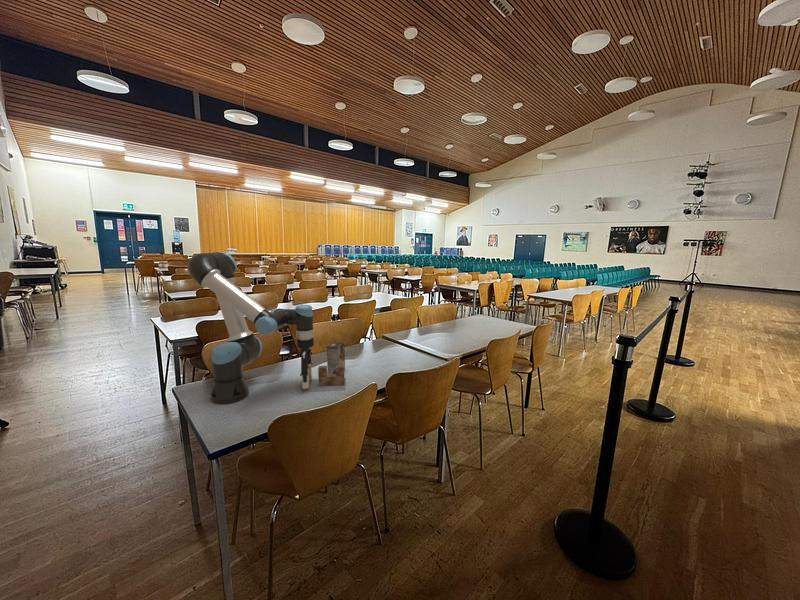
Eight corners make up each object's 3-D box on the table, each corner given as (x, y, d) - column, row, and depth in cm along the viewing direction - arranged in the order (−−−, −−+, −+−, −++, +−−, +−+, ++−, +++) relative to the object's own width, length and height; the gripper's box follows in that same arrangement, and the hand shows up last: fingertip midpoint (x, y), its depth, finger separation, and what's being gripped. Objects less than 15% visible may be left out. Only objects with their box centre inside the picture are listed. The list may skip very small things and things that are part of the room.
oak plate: (309, 390, 154) (308, 371, 153) (302, 390, 154) (301, 371, 152) (311, 381, 164) (311, 363, 162) (305, 381, 163) (304, 364, 162)
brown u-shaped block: (318, 386, 158) (318, 368, 156) (319, 383, 161) (318, 366, 159) (344, 385, 160) (344, 367, 158) (344, 382, 163) (344, 364, 161)
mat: (300, 394, 152) (300, 392, 152) (305, 381, 165) (305, 379, 165) (345, 392, 155) (345, 390, 154) (345, 379, 168) (345, 377, 168)
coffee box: (334, 370, 180) (333, 341, 178) (345, 371, 179) (344, 342, 176) (327, 376, 172) (326, 347, 169) (339, 378, 170) (338, 347, 167)
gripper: (310, 345, 144) (312, 393, 148) (316, 331, 166) (317, 373, 170) (292, 345, 143) (295, 394, 147) (300, 331, 165) (302, 374, 169)
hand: (307, 383), depth 159 cm, fingers closed on oak plate, 10 cm apart
